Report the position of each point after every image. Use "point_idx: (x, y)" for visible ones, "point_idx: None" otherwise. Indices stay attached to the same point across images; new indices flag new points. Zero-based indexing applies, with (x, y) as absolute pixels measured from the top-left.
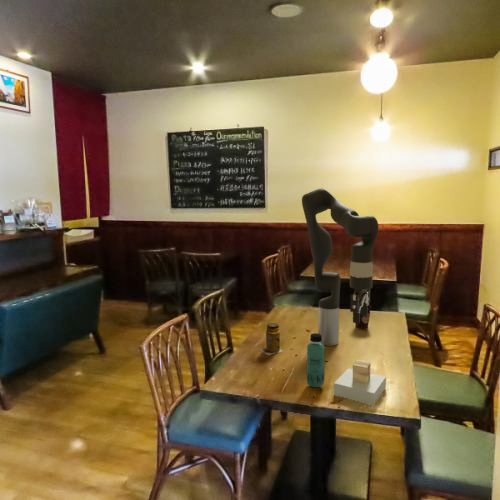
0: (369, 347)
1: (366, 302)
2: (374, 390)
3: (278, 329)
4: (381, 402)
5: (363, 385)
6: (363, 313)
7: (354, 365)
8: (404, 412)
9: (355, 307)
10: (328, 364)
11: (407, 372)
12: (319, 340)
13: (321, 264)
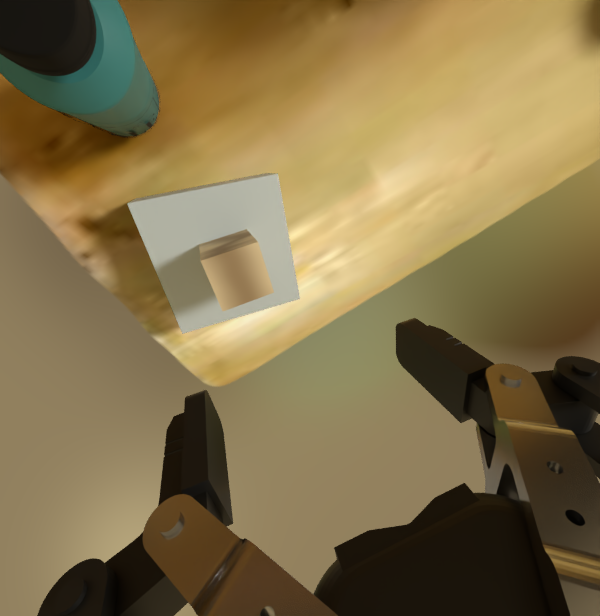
0: (514, 100)
1: (486, 473)
2: (198, 325)
3: None
4: None
5: (200, 287)
6: (409, 349)
7: (203, 267)
8: (215, 371)
9: None
10: (326, 29)
11: (400, 276)
12: (21, 66)
13: None
